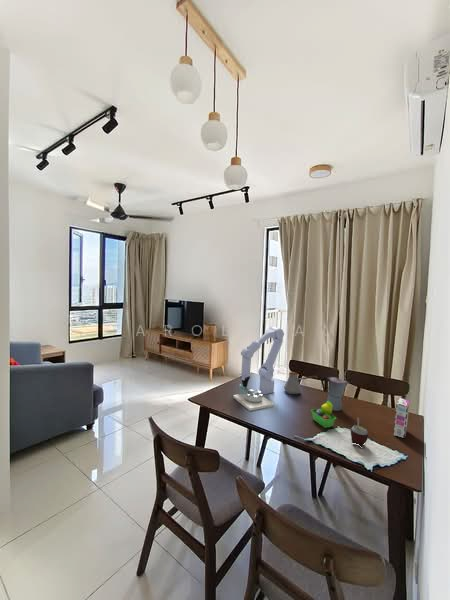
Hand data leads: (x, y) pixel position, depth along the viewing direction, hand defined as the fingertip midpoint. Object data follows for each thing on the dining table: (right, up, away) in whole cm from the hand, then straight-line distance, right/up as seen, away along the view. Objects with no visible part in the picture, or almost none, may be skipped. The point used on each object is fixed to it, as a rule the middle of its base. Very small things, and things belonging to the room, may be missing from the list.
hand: (244, 387), depth 171 cm
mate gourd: (+48, -10, -51) cm, 71 cm away
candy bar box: (+76, -11, -38) cm, 86 cm away
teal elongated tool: (+2, -3, -8) cm, 9 cm away
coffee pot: (+37, -6, +5) cm, 38 cm away
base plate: (+4, -5, -11) cm, 13 cm away
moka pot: (+52, -8, -13) cm, 54 cm away
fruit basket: (+39, -8, -32) cm, 51 cm away
